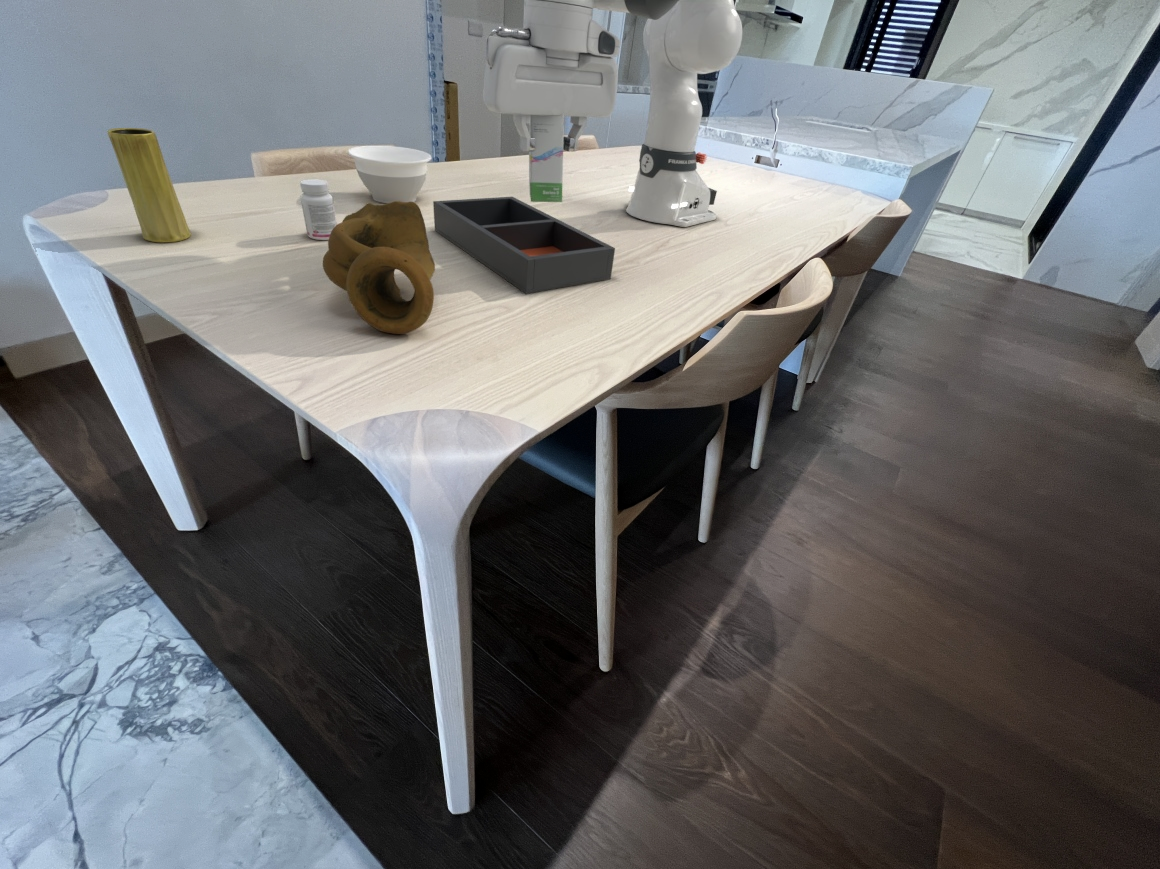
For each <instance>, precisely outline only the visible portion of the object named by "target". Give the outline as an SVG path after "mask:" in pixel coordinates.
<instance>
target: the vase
mask: <svg viewBox="0 0 1160 869" xmlns="http://www.w3.org/2000/svg"><path fill="white" fill-rule="evenodd" d="M106 132H107V136H108V138H109V141H110V143H111V145H112V147H113V151H114V153H115V157H116V159H117V163H118V165H119V168H120V171H121V174H122V178H123V180H124V182H125V186H126V189H127V191H128V193H129V197H130V200H131V203H132V205H133V208H134V209H133V210H134V212H135V214H136V217H137V220H138V225H139V226H140V227H139V228H140V229H141V233H142V234H141V237H142V238H143V239H144V240H145V241H149V242H152V243H175V242H181V241H184V240H187V239H189V238H191V235H192V232H191V230H190V227H189V225H188V223H187V220H186V217H185V215H184V212H183V209H182V206H181V204H180V201H179V199H178V196H177V193H176V190H175V187H174V184H173V182H172V179H171V177H170V176H171V175H170V174H169V171H168V167H167V164H166V162H165V159H164V155H163V152H162V150H161V146H160V144H159V140H158V138H157V134H156V132H155V130H152V129H147V128H141V127H115V128H114V127H113V128H110V129H108V130H107V131H106Z"/></svg>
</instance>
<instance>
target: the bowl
mask: <svg viewBox="0 0 1160 869" xmlns="http://www.w3.org/2000/svg"><path fill="white" fill-rule="evenodd" d="M347 154H348V155H349V156H350V157H351V158H353V161H354V166H355V170H356V172H357V175H358V177H359V179H360V181H361V183H362V184H363V185H364V187H365V188H366V189H367V191H369V193H370V194H371V196H372V199H373V200H374V201H375V202H378V203H383V204H388V203H391V202H394V201H400V202H414V203H416V201H417V196H418V194H419V193H420V191H421V190H422V188H423V187H424V184H425V182H426V178H427V173H428V166H427V165H428V163H429V162H430V161H432V155H431V154H430V153H428V152H426V151H423V150H421V149H420V150H419V149H415V148H410V147H403V146H394V145H361V146H355V147H352V148H349V149H348V150H347Z"/></svg>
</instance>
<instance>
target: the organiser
mask: <svg viewBox="0 0 1160 869" xmlns="http://www.w3.org/2000/svg"><path fill="white" fill-rule="evenodd" d="M432 205H433V207H432V208H433V222H434V231H435V232H436V233H438V234H439V235H441V236H442V237H444V238H445V239H446V240H448V241H449V242H451V243H453V244H454V245H455V246H456V247H458V248H459V249H461V250H462V251H464V252H465V253H467V254H468V255H469V256H471V257H472V258H474V259H475V260H476V261H478V262H479V263H481V264H482V265H484V266H485V267H487V268H488V269H490V271H493V272H494V273H495V274H497V275H498V276H500V278H502V279H504V280H505V281H507V282H508V283H510V285H513V287H515V288H517V289H519V290H520V291H521V292H523V293H524V294H526V295H528V294H534V293H539V292H544V291H545V292H546V291H550V290H551V291H552V290H557V289H562V288H567V287H574V286H579V285H585V284H591V283H597V282H603V281H607V280H611V279H612V274H613V273H612V272H613V266H614V259H615V251H616V248H615V247H614V246H611V245H610V244H608V243H606V242H604V241H601V240H600V239H598V238H596V237H594V236H592V235H590V234H587V233H586V232H584V231H583V230H580V229H579V228H576V227H574V226H572V225H570V224H568V223H566V222H564V221H562V220H560V219H558V218H556V217H554V216H553V215H552V216H551V215H550V214H548V213H546V212H544V211H542V210H540V209H538V208H536V207H534V206H533V205H530V204H528V203H527V202H525V201H522V200H519V199H518V198H516V197H514V196H500V197H499V196H498V197H497V196H496V197H482V198H466V199H465V198H464V199H449V200H433V201H432Z"/></svg>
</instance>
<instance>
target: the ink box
mask: <svg viewBox="0 0 1160 869" xmlns="http://www.w3.org/2000/svg"><path fill="white" fill-rule="evenodd" d="M564 119H565V116H564V114H562V115H560V116H548V115H530V124H528V125H529V126H528V131H529V134H530V136H531V137H533V138H536V141H535V145H534V146H535V151H534V152H528V180H529V181H528V182H529V183H528V184H529V197H530V203H531V202H532V203H563V182H564V181H563V180H564V179H563V178H564V150H563V143H564V142H563V140H564V135H565V134H564V128H565V126H564V124H565V123H564V122H565V120H564Z"/></svg>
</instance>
